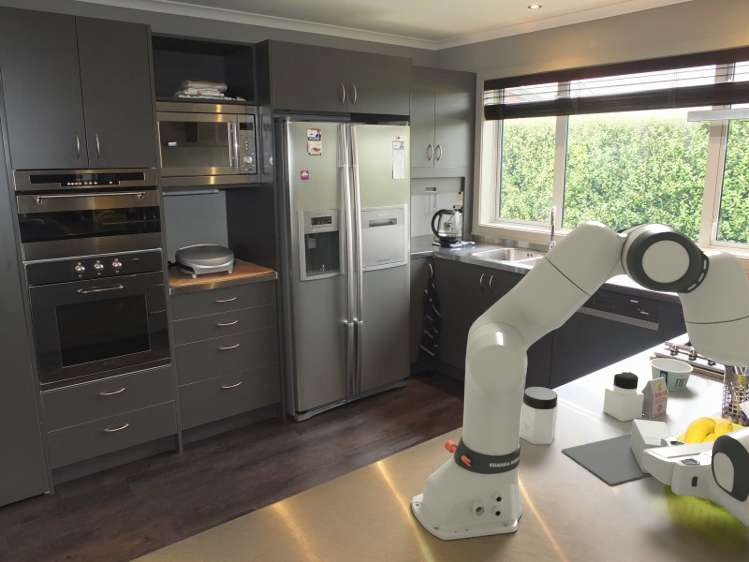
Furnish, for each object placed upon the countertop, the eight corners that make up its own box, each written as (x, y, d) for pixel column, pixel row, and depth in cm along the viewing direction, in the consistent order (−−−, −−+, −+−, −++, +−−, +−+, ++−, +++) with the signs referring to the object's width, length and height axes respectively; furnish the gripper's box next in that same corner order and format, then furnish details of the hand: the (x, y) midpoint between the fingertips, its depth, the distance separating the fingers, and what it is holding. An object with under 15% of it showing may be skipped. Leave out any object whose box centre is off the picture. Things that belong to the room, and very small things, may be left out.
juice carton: (638, 412, 163) (642, 378, 160) (654, 407, 166) (658, 374, 164) (650, 417, 160) (654, 383, 157) (665, 412, 163) (670, 378, 161)
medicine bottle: (641, 418, 159) (646, 376, 157) (621, 422, 157) (626, 380, 154) (622, 407, 166) (626, 367, 163) (602, 411, 163) (606, 370, 160)
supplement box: (681, 447, 128) (665, 420, 140) (645, 443, 130) (632, 417, 142) (676, 477, 130) (661, 448, 142) (641, 473, 131) (628, 445, 143)
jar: (512, 433, 150) (515, 389, 147) (535, 426, 154) (538, 383, 151) (538, 448, 142) (542, 403, 140) (562, 440, 146) (566, 396, 144)
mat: (610, 485, 127) (610, 484, 127) (561, 451, 141) (561, 449, 141) (684, 466, 135) (684, 464, 135) (630, 435, 150) (630, 433, 149)
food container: (658, 374, 190) (660, 355, 189) (697, 385, 182) (700, 366, 180) (640, 383, 183) (642, 363, 182) (680, 395, 174) (682, 375, 173)
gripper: (763, 454, 114) (709, 422, 128) (673, 466, 110) (626, 431, 123) (758, 483, 116) (705, 448, 129) (669, 496, 111) (623, 459, 125)
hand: (666, 440), depth 126 cm, fingers closed
